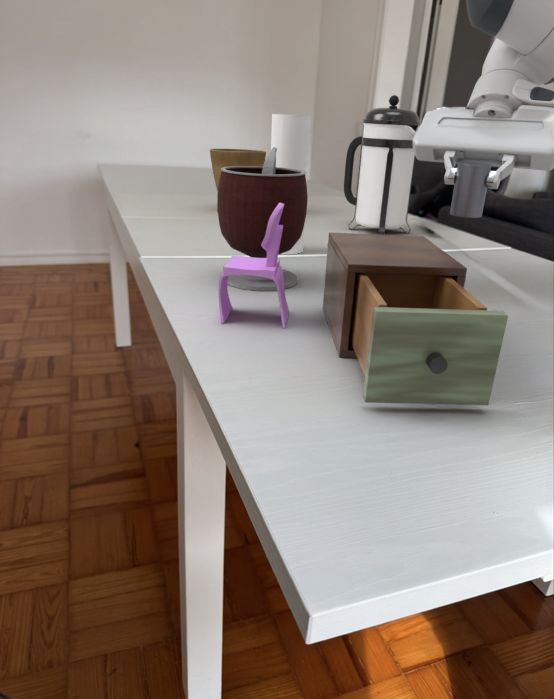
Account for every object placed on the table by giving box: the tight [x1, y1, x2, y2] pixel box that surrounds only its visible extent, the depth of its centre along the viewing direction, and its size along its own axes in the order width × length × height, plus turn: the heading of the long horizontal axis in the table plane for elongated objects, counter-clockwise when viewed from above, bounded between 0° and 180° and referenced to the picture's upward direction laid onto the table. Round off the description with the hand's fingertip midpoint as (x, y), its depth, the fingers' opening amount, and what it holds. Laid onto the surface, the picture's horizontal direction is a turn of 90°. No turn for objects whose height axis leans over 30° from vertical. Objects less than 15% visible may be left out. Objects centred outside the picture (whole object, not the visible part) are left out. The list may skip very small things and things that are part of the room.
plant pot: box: [209, 148, 267, 192], centre depth 147 cm, size 15×15×16 cm
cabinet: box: [322, 232, 468, 359], centre depth 68 cm, size 17×13×11 cm
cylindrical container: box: [270, 113, 312, 256], centre depth 105 cm, size 7×7×25 cm
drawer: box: [349, 272, 509, 406], centre depth 56 cm, size 17×12×9 cm
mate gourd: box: [216, 147, 309, 292], centre depth 86 cm, size 16×14×20 cm
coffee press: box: [343, 94, 422, 235], centre depth 128 cm, size 17×16×30 cm
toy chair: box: [217, 203, 290, 329], centre depth 70 cm, size 8×9×15 cm
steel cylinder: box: [449, 162, 492, 219], centre depth 77 cm, size 4×4×7 cm
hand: (470, 183), depth 76 cm, fingers closed on steel cylinder, 4 cm apart
